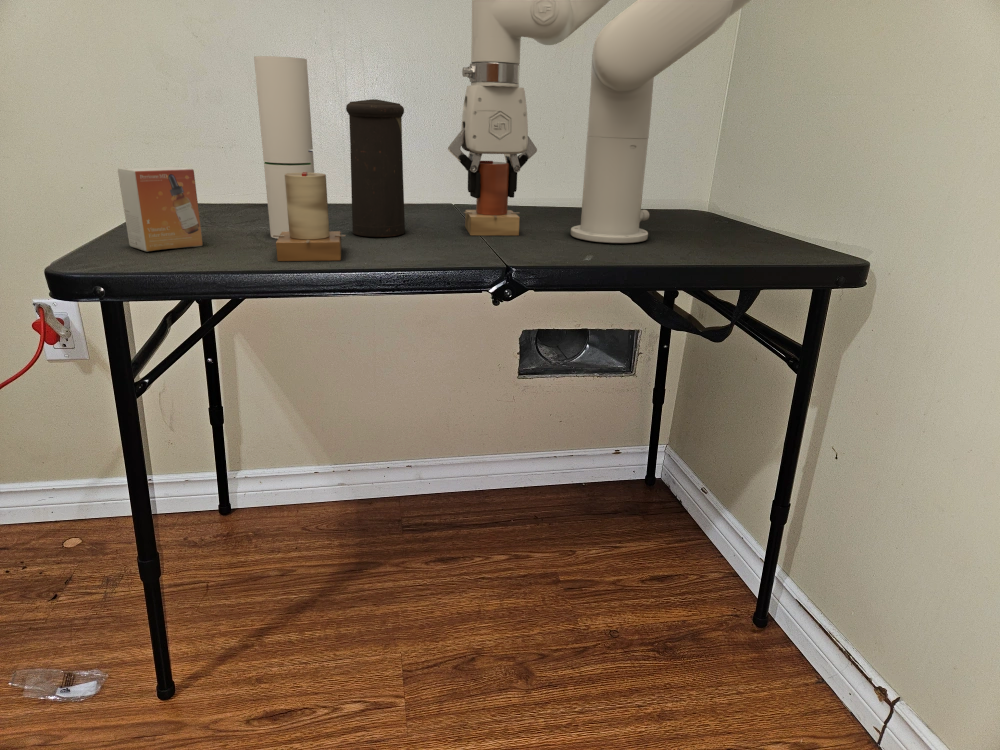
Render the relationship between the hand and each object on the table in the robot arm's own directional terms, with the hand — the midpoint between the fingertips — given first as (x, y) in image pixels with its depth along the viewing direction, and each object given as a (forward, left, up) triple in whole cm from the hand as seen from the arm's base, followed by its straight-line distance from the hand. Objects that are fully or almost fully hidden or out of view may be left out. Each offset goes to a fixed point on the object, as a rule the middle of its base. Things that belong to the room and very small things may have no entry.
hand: (492, 195), depth 112 cm
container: (+15, -10, -6) cm, 20 cm away
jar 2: (0, 0, -3) cm, 3 cm away
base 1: (+33, -4, -6) cm, 34 cm away
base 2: (0, 0, -6) cm, 6 cm away
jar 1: (+33, -4, -3) cm, 34 cm away
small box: (+44, -21, -6) cm, 50 cm away
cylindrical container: (+26, -17, -6) cm, 32 cm away
